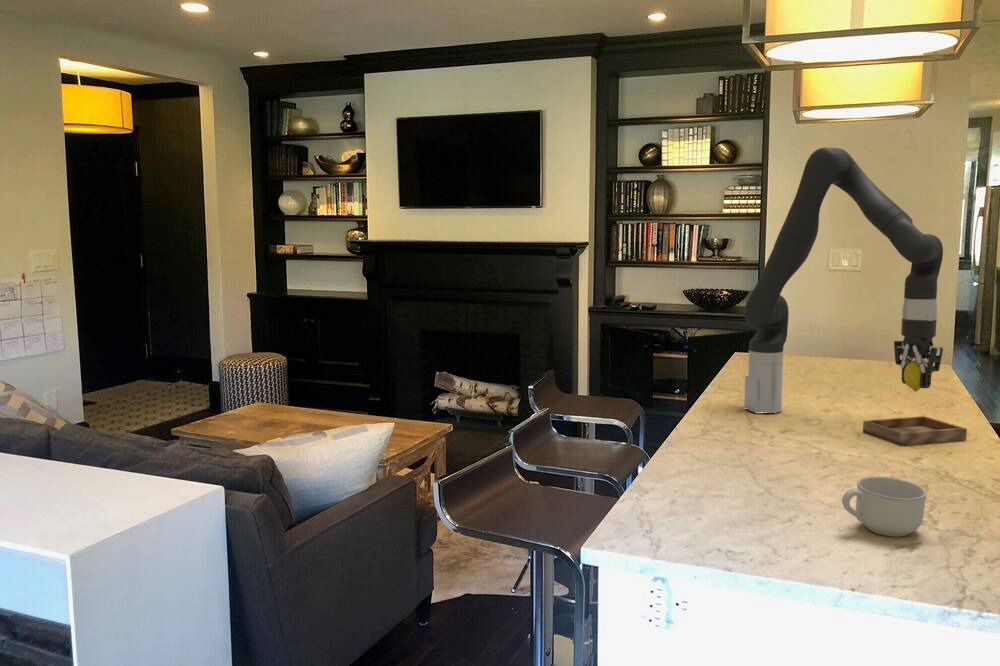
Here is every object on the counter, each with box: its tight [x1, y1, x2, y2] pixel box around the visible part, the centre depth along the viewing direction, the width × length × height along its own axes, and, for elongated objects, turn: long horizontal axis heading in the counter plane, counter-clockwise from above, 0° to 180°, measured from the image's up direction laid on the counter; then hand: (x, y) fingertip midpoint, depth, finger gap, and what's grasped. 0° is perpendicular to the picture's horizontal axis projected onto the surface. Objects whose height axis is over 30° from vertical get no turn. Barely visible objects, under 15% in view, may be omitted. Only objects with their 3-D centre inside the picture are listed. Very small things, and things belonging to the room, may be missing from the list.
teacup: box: [841, 475, 928, 538], centre depth 140 cm, size 14×11×8 cm
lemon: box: [904, 359, 927, 393], centre depth 201 cm, size 6×6×8 cm
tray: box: [862, 415, 968, 447], centre depth 202 cm, size 18×14×3 cm
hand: (915, 385), depth 201 cm, fingers closed on lemon, 5 cm apart
